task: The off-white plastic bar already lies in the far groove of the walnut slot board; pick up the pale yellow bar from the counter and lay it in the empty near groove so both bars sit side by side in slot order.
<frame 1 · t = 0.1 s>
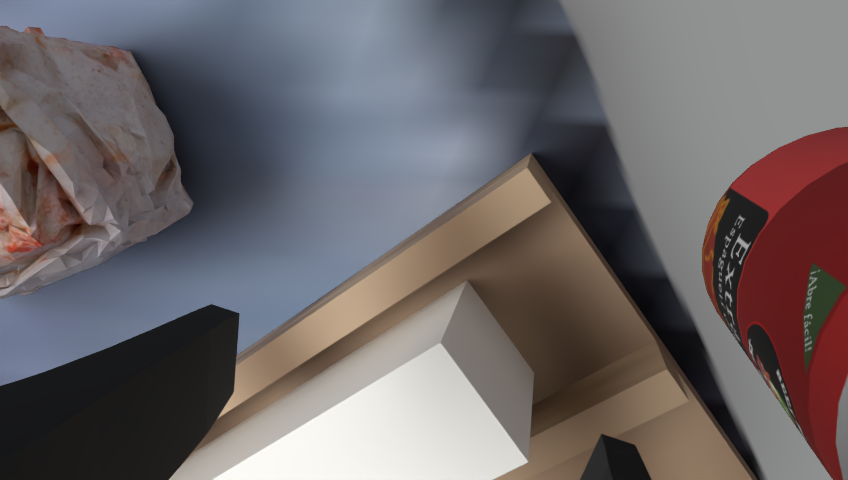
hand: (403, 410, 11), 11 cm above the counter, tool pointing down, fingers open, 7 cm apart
canned food: (827, 243, 19), on the counter
slot board: (412, 465, 24), on the counter
white bar: (348, 416, 22), point 1 cm above the counter, touching slot board
food item: (65, 174, 24), on the counter
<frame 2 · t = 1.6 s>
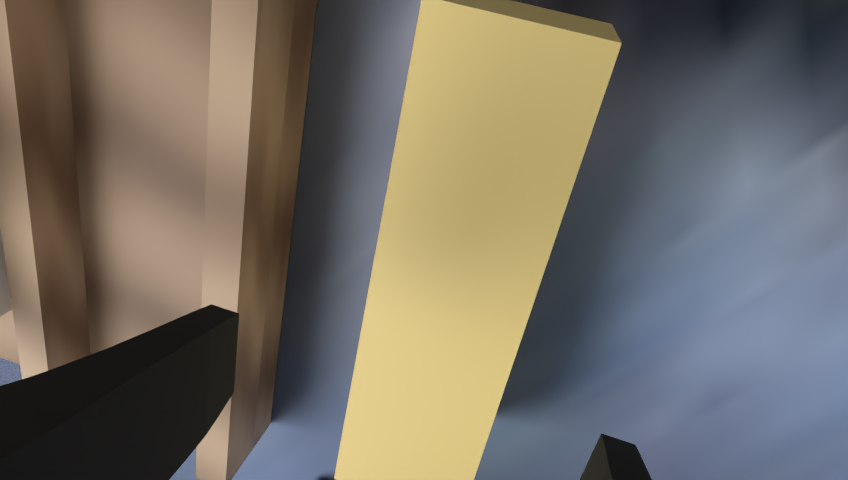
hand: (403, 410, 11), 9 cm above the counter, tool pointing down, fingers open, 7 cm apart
slot board: (92, 122, 21), on the counter
pale yellow bar: (477, 233, 19), on the counter
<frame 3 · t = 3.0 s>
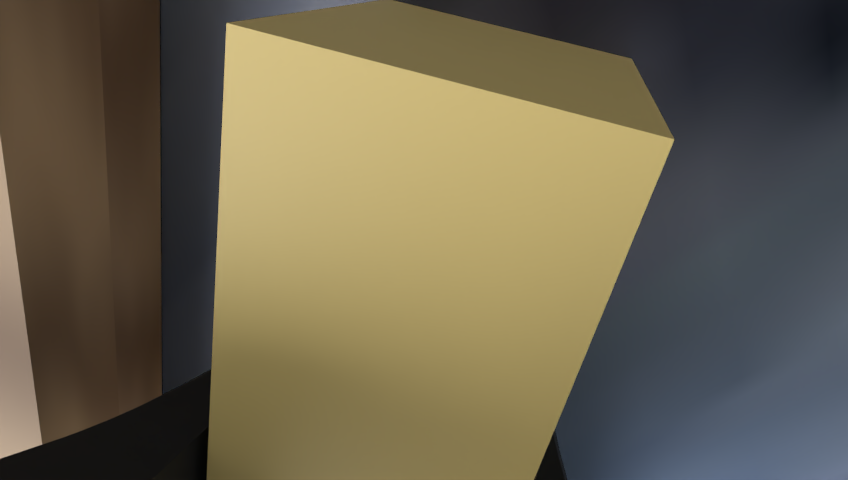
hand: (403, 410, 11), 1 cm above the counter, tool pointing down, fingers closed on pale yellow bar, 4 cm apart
pale yellow bar: (421, 364, 13), on the counter, touching gripper
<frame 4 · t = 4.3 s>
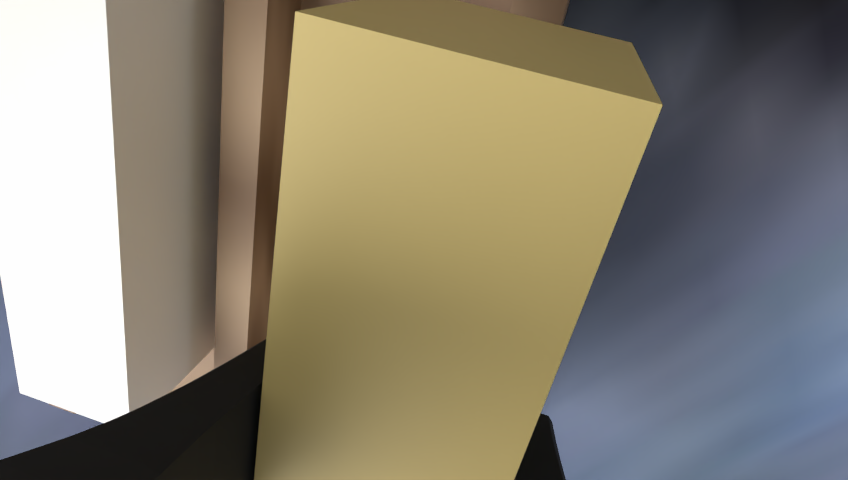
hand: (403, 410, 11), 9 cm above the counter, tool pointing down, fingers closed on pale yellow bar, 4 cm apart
slot board: (289, 173, 21), on the counter
pale yellow bar: (439, 326, 14), point 7 cm above the counter, touching gripper
white bar: (170, 160, 20), point 1 cm above the counter, touching slot board
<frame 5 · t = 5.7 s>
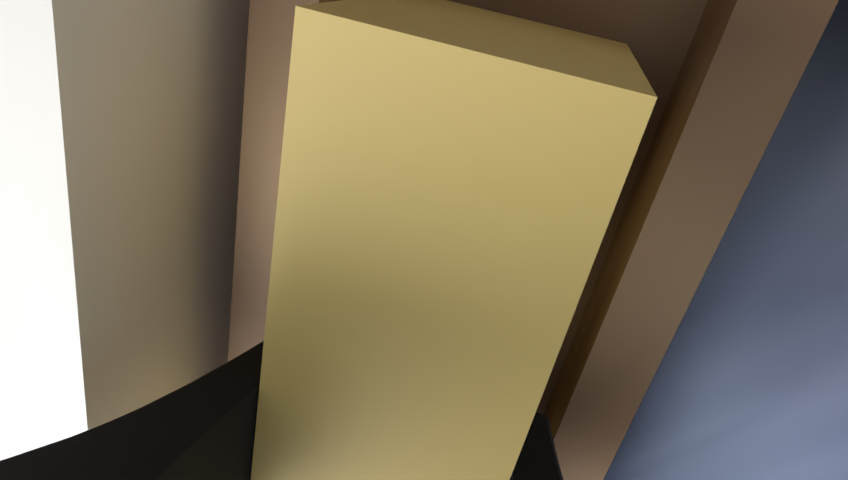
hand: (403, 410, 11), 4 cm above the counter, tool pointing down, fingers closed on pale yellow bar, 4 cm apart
slot board: (320, 257, 16), on the counter
pale yellow bar: (436, 326, 14), point 1 cm above the counter, touching gripper, slot board
white bar: (164, 241, 15), point 1 cm above the counter, touching slot board
when the fingers open (4 cm above the counter, at t = 5.9 s): pale yellow bar stays where it is, resting on slot board.
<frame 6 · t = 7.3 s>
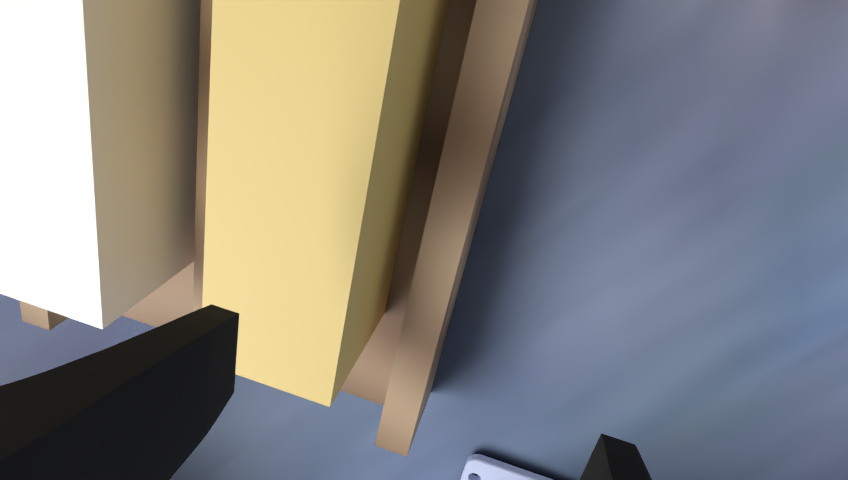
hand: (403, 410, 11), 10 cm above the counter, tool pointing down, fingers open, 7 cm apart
slot board: (275, 71, 20), on the counter
pale yellow bar: (361, 106, 18), point 1 cm above the counter, touching slot board
white bar: (150, 50, 19), point 1 cm above the counter, touching slot board
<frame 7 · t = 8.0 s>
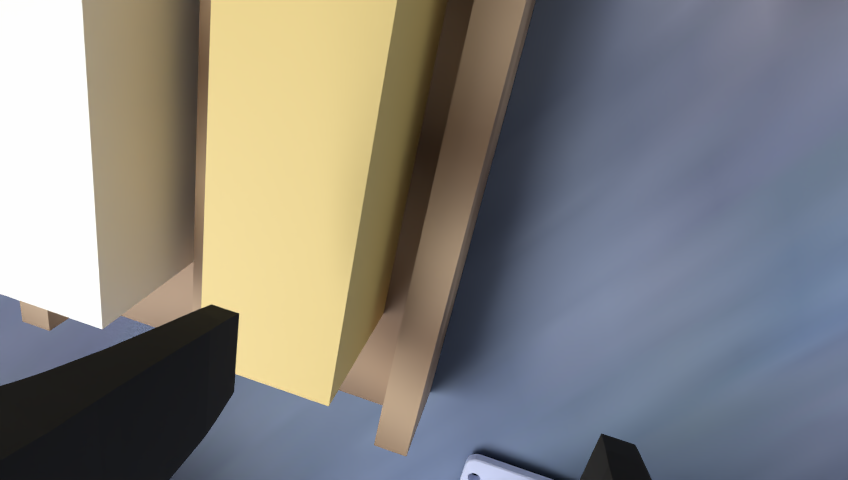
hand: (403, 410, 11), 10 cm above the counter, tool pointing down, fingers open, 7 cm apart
slot board: (274, 71, 20), on the counter
pale yellow bar: (359, 106, 18), point 1 cm above the counter, touching slot board
white bar: (149, 51, 19), point 1 cm above the counter, touching slot board
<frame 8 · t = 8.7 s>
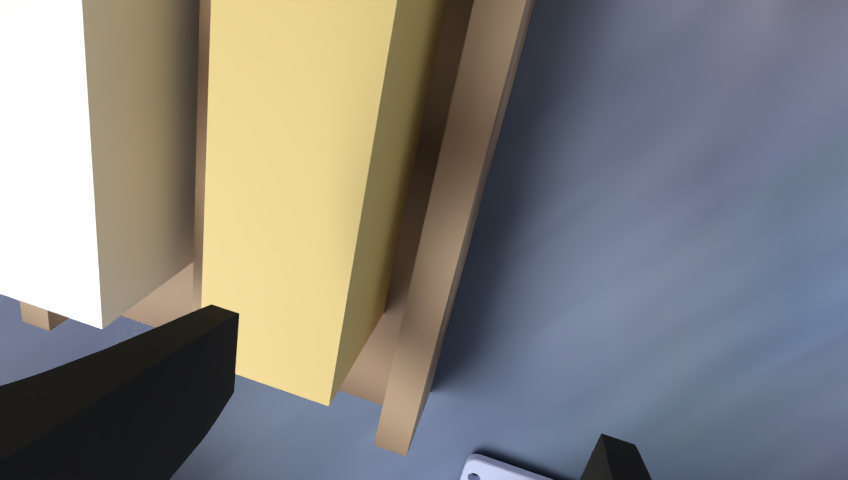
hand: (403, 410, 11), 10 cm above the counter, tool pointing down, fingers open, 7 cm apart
slot board: (274, 71, 20), on the counter
pale yellow bar: (359, 106, 18), point 1 cm above the counter, touching slot board
white bar: (149, 51, 19), point 1 cm above the counter, touching slot board
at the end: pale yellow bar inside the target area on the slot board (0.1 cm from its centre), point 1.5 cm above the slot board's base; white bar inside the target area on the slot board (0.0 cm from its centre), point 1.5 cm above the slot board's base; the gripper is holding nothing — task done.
